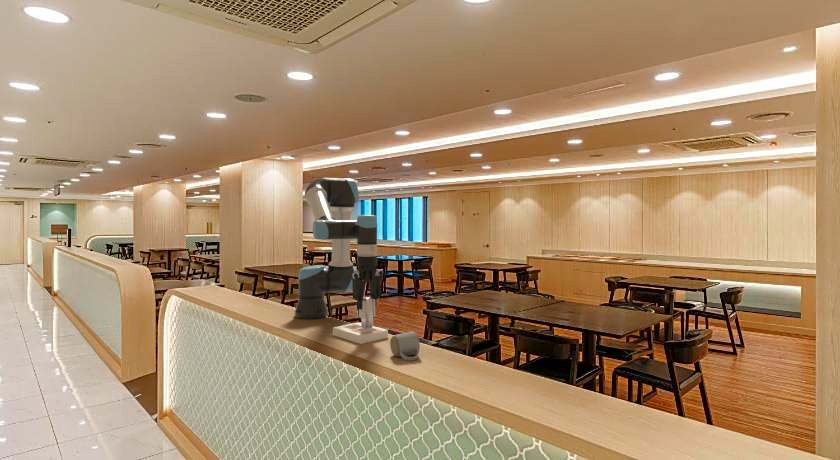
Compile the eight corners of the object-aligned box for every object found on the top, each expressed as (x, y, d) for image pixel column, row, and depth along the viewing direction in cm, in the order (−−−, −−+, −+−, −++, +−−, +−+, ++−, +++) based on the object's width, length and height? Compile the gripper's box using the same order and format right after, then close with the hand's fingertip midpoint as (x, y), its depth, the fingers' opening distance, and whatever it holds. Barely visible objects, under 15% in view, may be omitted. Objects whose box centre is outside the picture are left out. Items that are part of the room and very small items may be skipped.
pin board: (332, 335, 181) (332, 326, 181) (359, 329, 190) (359, 321, 190) (360, 344, 168) (360, 335, 168) (387, 337, 177) (388, 329, 177)
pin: (362, 325, 178) (362, 297, 178) (373, 325, 178) (373, 297, 178) (360, 328, 173) (360, 299, 173) (372, 328, 173) (372, 299, 173)
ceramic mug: (388, 353, 156) (389, 331, 156) (410, 350, 160) (410, 328, 159) (401, 363, 147) (402, 339, 146) (424, 359, 150) (424, 336, 150)
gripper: (354, 257, 166) (354, 321, 167) (390, 254, 179) (390, 314, 179) (342, 256, 172) (342, 318, 172) (378, 253, 184) (378, 312, 184)
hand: (367, 316), depth 176 cm, fingers closed on pin, 4 cm apart
